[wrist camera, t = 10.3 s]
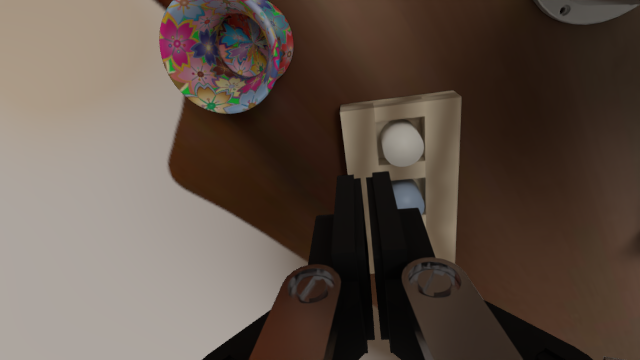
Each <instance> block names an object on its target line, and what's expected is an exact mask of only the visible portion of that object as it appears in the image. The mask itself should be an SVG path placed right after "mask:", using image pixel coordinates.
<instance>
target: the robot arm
mask: <svg viewBox="0 0 640 360" xmlns="http://www.w3.org/2000/svg"><path fill="white" fill-rule="evenodd" d="M533 1H534V2H535V4H536V5H537V6H538V7H539V8H540V10H541V11H542V12H544V13H545V14H546V15H548V16H549V17H551V18H553V19H555V20H558V21H560V22H563V23H569V24H584V25H588V24H595V23H602V22H605V21H608V20H611V19H614V18H617V17H619V16H621V15H623V14H625V13H627V12H629V11H631V10H633V9H634V8H635V7H637V6H638V5H640V0H533ZM561 8H562V12H561V13H560V10H561ZM366 184H367V196H368V207H369V218H370V229H371V240H372V251H373V262H374V272H375V282H376V292H377V302H378V312H379V321H380V331H381V339H382V340H384V339H385V340H387V339H389V342H390V351H391V353H394V354H395V355H396V356H397V357H399V358H400V359H401V360H593V359H592V358H590V357H589V356H588V355H587V354H585V353H583V352H582V351H580V350H579V349H577V348H576V347H574V346H572V345H570V344H568V343H566V342H564V341H562V340H560V339H558V338H556V337H554V336H553V335H551V334H549V333H547V332H545V331H543V330H541V329H539V328H537V327H535V326H533V325H531V324H529V323H527V322H526V321H524V320H522V319H520V318H518V317H516V316H514V315H512V314H510V313H508V312H506V311H504V310H502V309H501V308H499V307H497V306H495V305H493V304H491V303H489V302H487V301H485V300H483V299H482V297H481V296H480V294H479V293H478V291H477V290H476V288H475V287H474V285H473V284H472V282H471V281H470V279H469V278H468V276H467V275H466V273H465V272H464V271H463V270H462V269H461V268H460V267H459V266H457V265H456V264H454V263H452V262H450V261H447V260H445V259H441V258H436V257H435V254H434V251H433V248H432V245H431V242H430V239H429V237H428V234H427V231H426V228H425V225H424V222H423V219H422V216H421V213H420V210H419V208H405V209H398V208H397V204H396V200H395V195H394V191H393V187H392V183H391V178H390V174H389V171H383V172H373V173H372V177H366ZM367 340H375V336H374V321H373V308H372V294H371V280H370V266H369V253H368V242H367V233H366V223H365V214H364V204H363V195H362V186H361V178H356V179H354V174H353V175H342V176H337V187H336V199H335V211H334V214H331V215H319V216H316V221H315V226H314V232H313V238H312V244H311V250H310V256H309V262H308V265H307V266H303V267H300V268H298V269H296V270H295V271H293V272H292V273H291V274H290V275H288V276H287V277H286V279H285V281H284V282H283V284H282V286H281V288H280V291H279V293H278V295H277V297H276V300H275V302H274V304H273V306H272V309H271V310H270V311H268V312H267V313H266V314H264V315H263V316H261V317H260V318H259V319H257V320H256V321H254V322H253V323H252V324H250V325H249V326H248V327H246V328H245V329H243V330H242V331H241V332H239V333H238V334H236V335H235V336H233V337H232V338H231V339H229V340H228V341H226V342H225V343H224V344H222V345H221V346H219V347H218V348H217V349H215V350H214V351H213V352H211V353H210V354H208V355H207V356H206V357H205V358H203V360H359V359H360V358H361V356H363V355H364V354H365V353H368V346H367ZM603 360H622V359H616V358H610V357H604V358H603Z"/></svg>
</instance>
